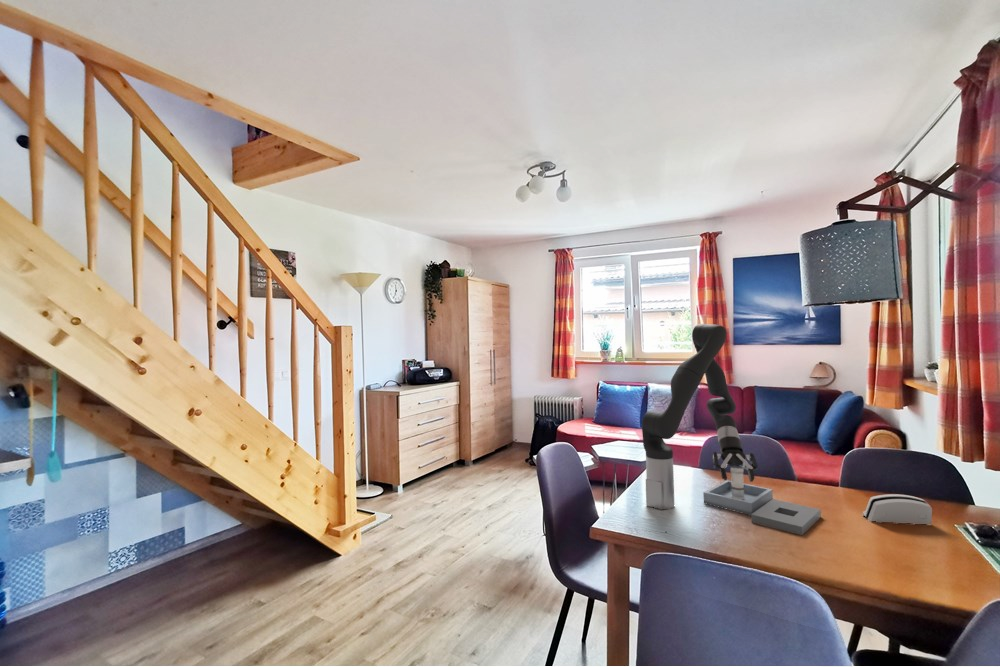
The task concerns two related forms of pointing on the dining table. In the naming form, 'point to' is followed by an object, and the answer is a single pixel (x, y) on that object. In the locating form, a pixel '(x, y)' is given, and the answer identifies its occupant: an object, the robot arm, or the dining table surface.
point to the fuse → (737, 483)
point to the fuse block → (786, 516)
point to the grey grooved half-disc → (898, 509)
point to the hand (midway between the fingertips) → (738, 480)
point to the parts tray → (752, 502)
